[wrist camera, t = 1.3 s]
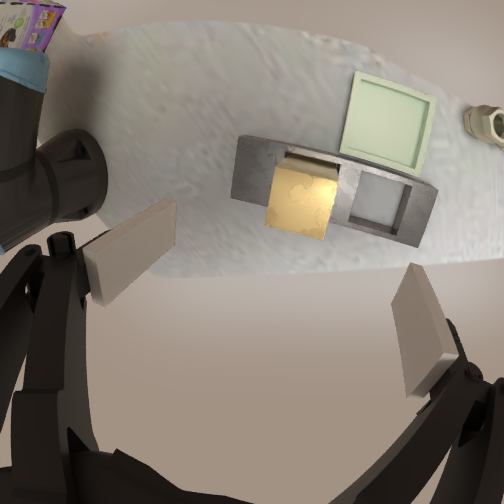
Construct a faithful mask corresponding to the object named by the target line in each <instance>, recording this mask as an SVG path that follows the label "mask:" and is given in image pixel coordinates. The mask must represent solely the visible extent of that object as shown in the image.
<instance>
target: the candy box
mask: <svg viewBox="0 0 504 504" xmlns="http://www.w3.org/2000/svg"><path fill="white" fill-rule="evenodd" d="M65 9H66V7H64V6H62V5H60V4H59V3H55V2H48V1H39V0H0V47H7V48H17V49H26V50H33V51H39V52H43V53H44V51H45V48H46V46H47V44H48V42H49V40H50V38H51V36H52V34H53V32H54V30H55V28H56V26H57V24H58V22H59V20H60V18H61V17H62V15H63V13H64V11H65Z"/></svg>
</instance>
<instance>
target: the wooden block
mask: <svg viewBox="0 0 504 504" xmlns="http://www.w3.org/2000/svg"><path fill="white" fill-rule="evenodd" d="M338 183H339V181H338V174H337V167H336V163H332V162H328V161H325V160H321V159H316V158H312V157H308V156H304V155H299V154H295V153H291V154H290V155H289V156H287V157H286V158H285V159H284V160H283V161H282V162H280V163H279V164H278V165H277V166H276V167H275V171H274V176H273V182H272V187H271V193H270V198H269V204H268V209H267V215H266V220H265V225H266V226H270V227H274V228H278V229H282V230H286V231H290V232H294V233H297V234H301V235H305V236H309V237H313V238H316V239H320V240H323V239H324V236H325V232H326V229H327V225H328V221H329V218H330V214H331V210H332V206H333V203H334V199H335V195H336V191H337V187H338Z"/></svg>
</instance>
